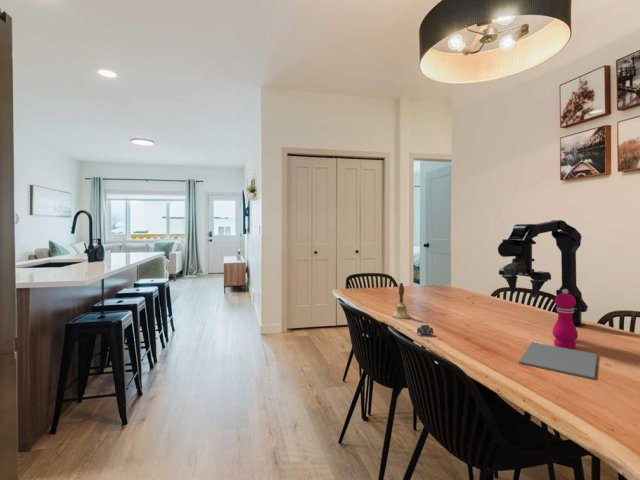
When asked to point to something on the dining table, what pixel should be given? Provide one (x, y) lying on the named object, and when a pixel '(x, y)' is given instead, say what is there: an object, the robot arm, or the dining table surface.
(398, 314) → the hand bell
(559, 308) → the pepper mill
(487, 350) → the dining table surface
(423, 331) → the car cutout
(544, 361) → the mat
